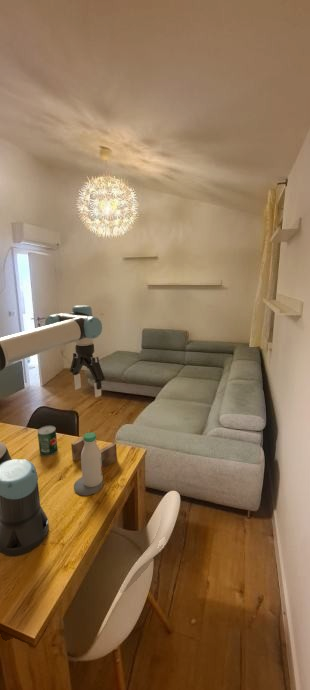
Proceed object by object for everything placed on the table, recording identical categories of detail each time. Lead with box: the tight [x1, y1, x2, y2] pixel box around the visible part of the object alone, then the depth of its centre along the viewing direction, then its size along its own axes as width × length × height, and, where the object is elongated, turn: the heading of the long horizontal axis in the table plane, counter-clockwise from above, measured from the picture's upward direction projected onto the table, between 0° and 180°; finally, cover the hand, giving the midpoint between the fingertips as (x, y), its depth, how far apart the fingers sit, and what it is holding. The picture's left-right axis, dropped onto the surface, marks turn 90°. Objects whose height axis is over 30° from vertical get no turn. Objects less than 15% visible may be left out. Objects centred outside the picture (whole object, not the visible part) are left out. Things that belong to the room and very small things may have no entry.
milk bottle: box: [80, 432, 104, 487], centre depth 114 cm, size 8×8×20 cm
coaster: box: [73, 476, 104, 497], centre depth 115 cm, size 11×11×1 cm
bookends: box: [70, 436, 118, 471], centre depth 130 cm, size 12×16×8 cm
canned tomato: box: [37, 425, 59, 457], centre depth 136 cm, size 8×8×11 cm
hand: (87, 392), depth 126 cm, fingers open, 13 cm apart
